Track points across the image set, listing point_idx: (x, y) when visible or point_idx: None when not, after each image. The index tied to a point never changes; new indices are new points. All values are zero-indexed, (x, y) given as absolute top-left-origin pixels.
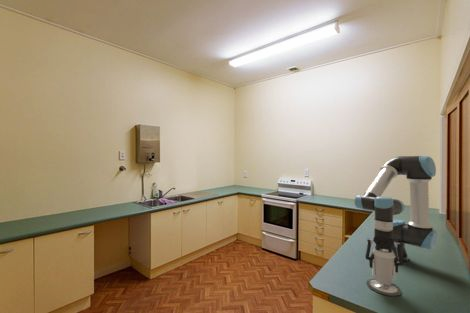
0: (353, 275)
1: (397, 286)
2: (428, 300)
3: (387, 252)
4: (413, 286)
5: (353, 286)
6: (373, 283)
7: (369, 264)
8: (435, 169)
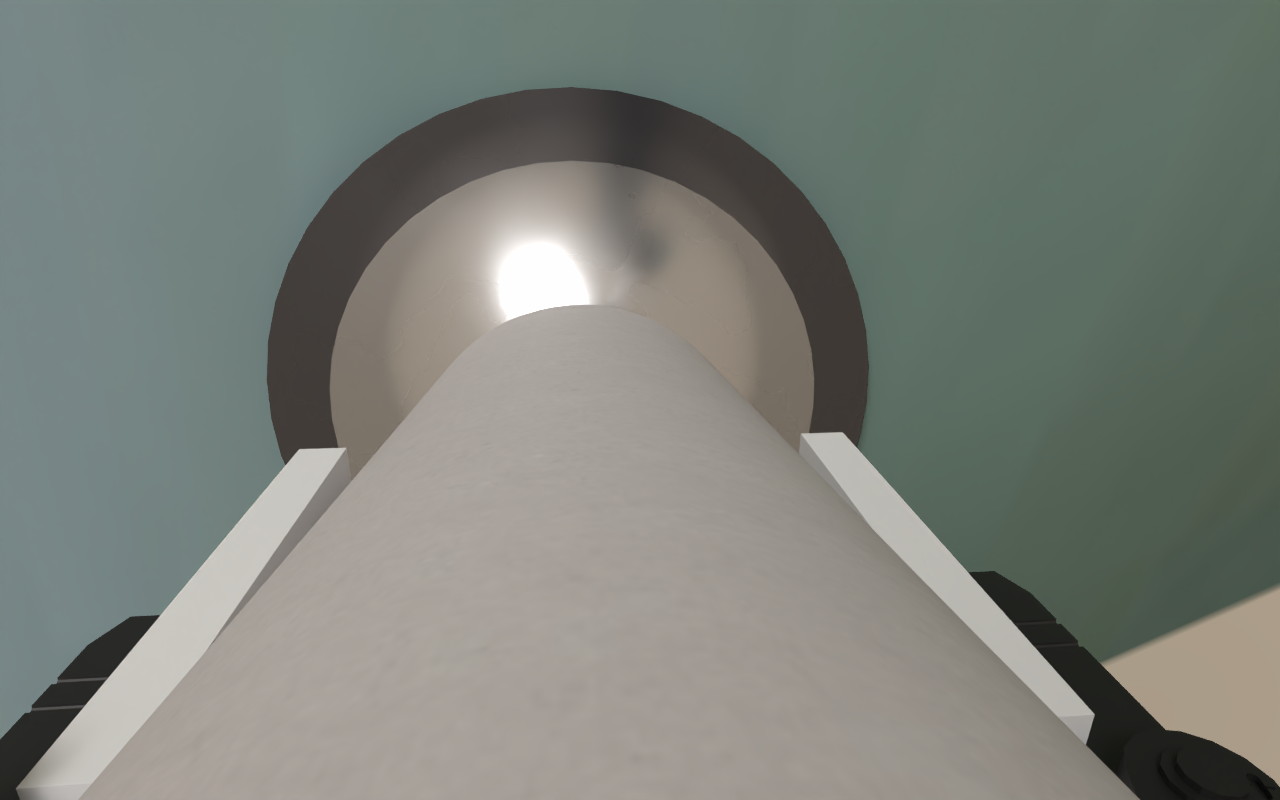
0: None
1: (849, 282)
2: (1174, 481)
3: None
4: (1190, 42)
5: (75, 612)
6: (401, 405)
7: (64, 681)
8: None
